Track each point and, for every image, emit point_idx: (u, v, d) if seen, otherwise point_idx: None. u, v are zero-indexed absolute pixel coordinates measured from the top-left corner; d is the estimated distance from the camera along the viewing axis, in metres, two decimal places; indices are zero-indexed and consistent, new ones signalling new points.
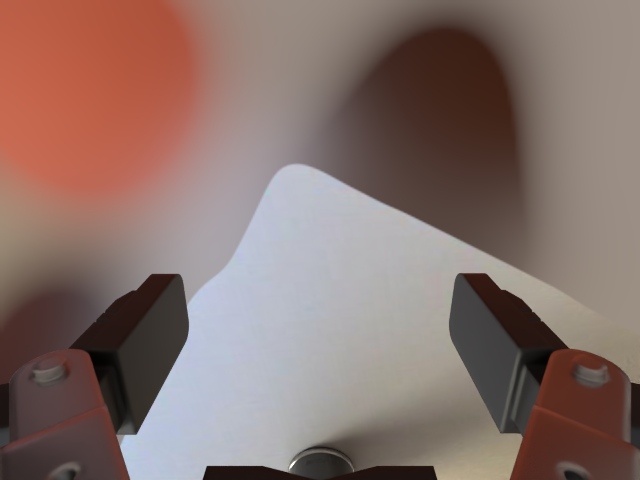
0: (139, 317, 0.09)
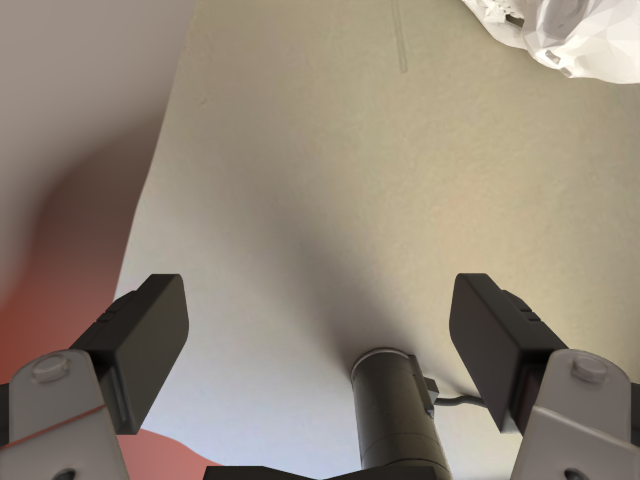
0: (140, 317, 0.09)
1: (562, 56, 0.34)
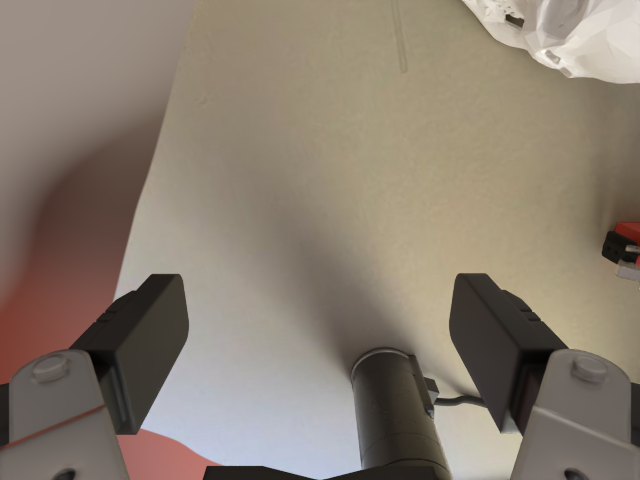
0: (140, 317, 0.09)
1: (562, 56, 0.34)
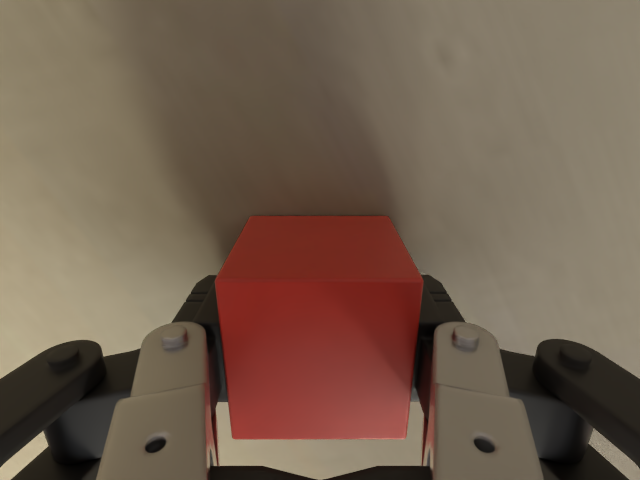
0: None
1: None
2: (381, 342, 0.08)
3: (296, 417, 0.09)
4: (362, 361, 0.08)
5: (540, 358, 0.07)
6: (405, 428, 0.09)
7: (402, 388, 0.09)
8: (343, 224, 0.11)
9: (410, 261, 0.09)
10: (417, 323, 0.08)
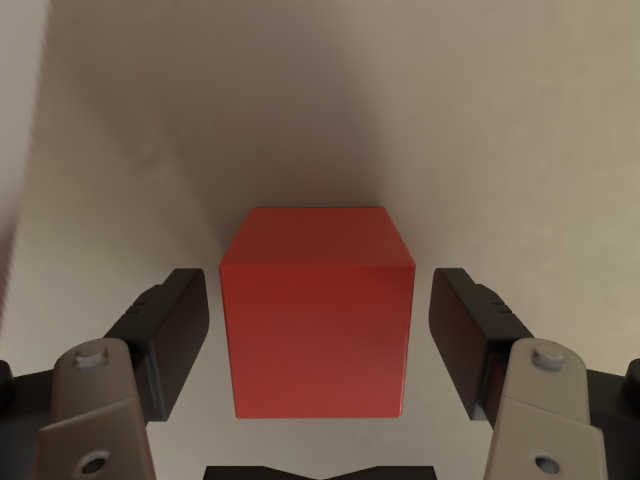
0: (169, 308, 0.09)
1: None
2: (376, 324, 0.09)
3: (296, 397, 0.10)
4: (358, 342, 0.09)
5: (631, 374, 0.07)
6: (400, 406, 0.10)
7: (397, 368, 0.09)
8: (341, 215, 0.11)
9: (403, 248, 0.09)
10: (410, 305, 0.09)
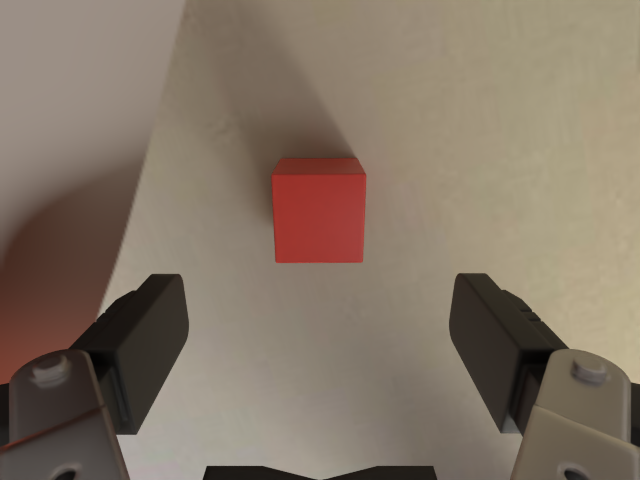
0: (139, 317, 0.09)
1: None
2: (348, 206, 0.18)
3: (308, 249, 0.18)
4: (339, 217, 0.18)
5: None
6: (361, 255, 0.19)
7: (359, 231, 0.18)
8: (331, 160, 0.20)
9: (362, 170, 0.18)
10: (364, 196, 0.18)
